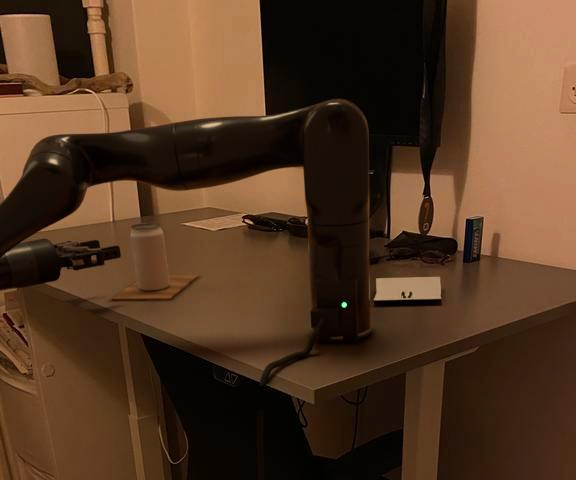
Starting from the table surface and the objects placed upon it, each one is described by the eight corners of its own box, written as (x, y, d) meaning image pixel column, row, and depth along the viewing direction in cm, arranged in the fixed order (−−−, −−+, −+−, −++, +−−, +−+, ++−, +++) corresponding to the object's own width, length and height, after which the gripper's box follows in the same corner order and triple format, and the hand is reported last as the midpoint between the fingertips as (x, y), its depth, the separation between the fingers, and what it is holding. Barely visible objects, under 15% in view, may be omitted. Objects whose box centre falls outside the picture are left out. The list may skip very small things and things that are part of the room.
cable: (279, 269, 168) (279, 262, 167) (379, 247, 181) (379, 240, 180) (318, 279, 158) (318, 272, 157) (421, 255, 171) (421, 248, 171)
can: (134, 287, 161) (124, 225, 155) (165, 281, 163) (156, 220, 157) (143, 293, 155) (133, 229, 149) (174, 288, 158) (166, 225, 152)
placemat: (170, 300, 151) (170, 298, 151) (111, 300, 154) (111, 298, 154) (198, 277, 167) (197, 275, 166) (144, 277, 169) (144, 275, 169)
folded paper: (373, 306, 139) (373, 295, 138) (376, 289, 149) (375, 278, 148) (442, 305, 137) (443, 293, 136) (440, 287, 147) (441, 276, 146)
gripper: (39, 247, 135) (123, 232, 144) (8, 237, 145) (89, 223, 154) (48, 291, 139) (130, 273, 147) (17, 279, 149) (95, 263, 157)
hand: (109, 248), depth 150 cm, fingers open, 8 cm apart
